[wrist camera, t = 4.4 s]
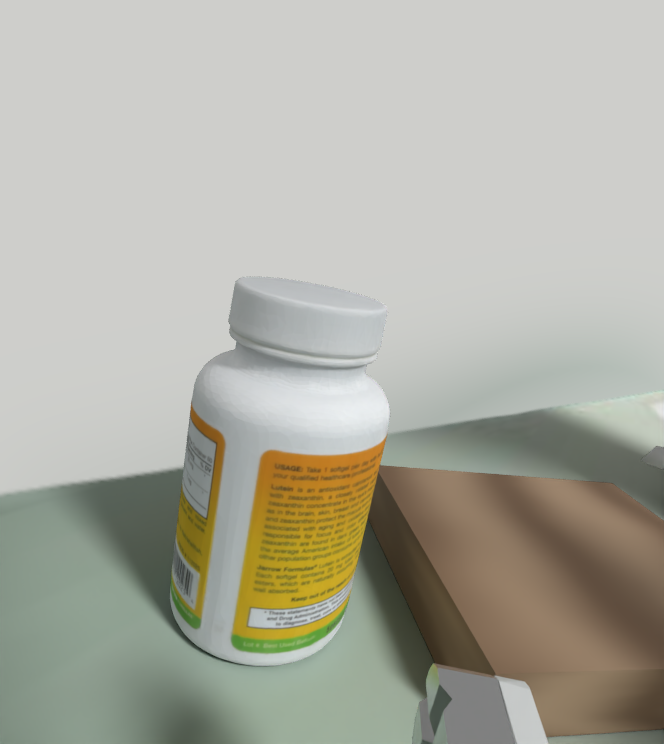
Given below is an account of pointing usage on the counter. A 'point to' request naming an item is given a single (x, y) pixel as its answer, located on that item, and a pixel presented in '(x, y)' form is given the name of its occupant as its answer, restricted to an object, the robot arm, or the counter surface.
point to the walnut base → (534, 588)
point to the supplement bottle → (279, 473)
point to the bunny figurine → (655, 457)
